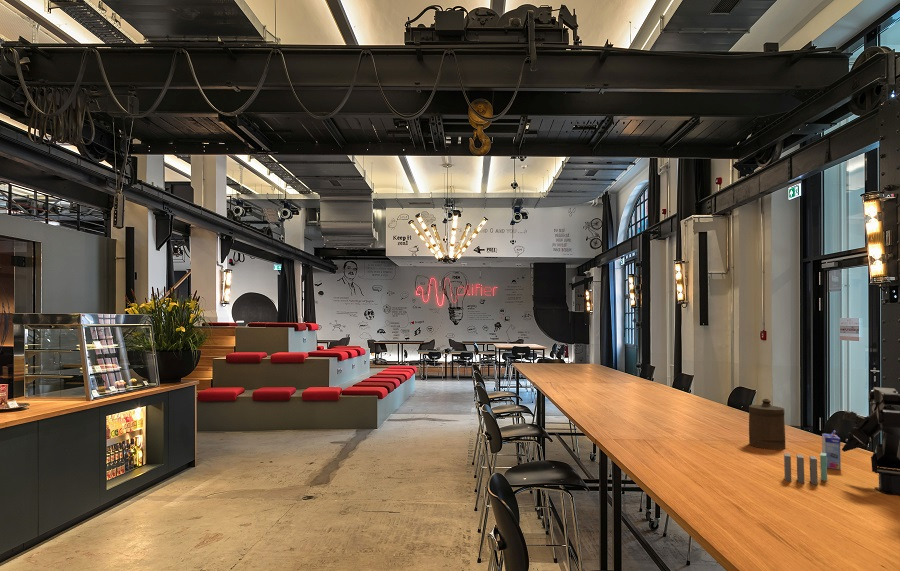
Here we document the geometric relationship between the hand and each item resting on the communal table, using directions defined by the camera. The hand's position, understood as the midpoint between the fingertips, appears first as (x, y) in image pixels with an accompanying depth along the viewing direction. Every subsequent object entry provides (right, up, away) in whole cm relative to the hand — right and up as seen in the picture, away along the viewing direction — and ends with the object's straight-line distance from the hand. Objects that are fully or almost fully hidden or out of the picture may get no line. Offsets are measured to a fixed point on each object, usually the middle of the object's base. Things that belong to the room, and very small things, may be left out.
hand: (844, 449), depth 202 cm
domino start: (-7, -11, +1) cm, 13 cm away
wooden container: (+4, -15, +55) cm, 58 cm away
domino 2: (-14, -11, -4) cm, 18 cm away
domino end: (-21, -11, 0) cm, 24 cm away
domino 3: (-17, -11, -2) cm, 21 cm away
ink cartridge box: (+9, -13, +20) cm, 25 cm away
